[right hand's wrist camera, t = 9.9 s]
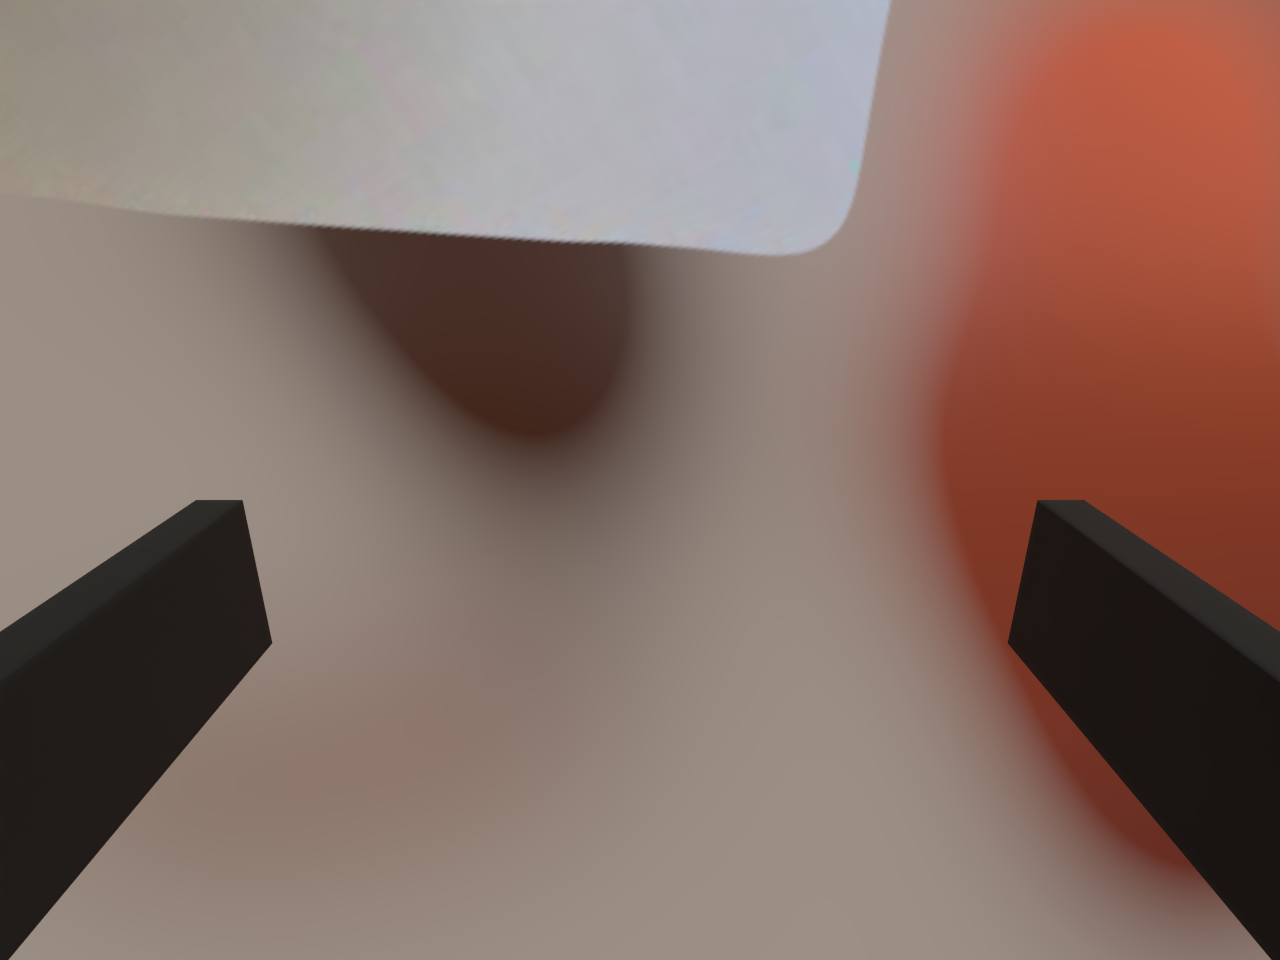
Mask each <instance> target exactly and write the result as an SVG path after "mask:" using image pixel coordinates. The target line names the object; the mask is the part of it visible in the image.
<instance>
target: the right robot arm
mask: <svg viewBox="0 0 1280 960" xmlns="http://www.w3.org/2000/svg"><path fill="white" fill-rule="evenodd" d="M271 644H272V640H271V635H270V630H269V625H268V620H267V616H266V611H265V606H264V601H263V596H262V592H261V587H260V582H259V577H258V572H257V568H256V563H255V558H254V553H253V548H252V544H251V539H250V534H249V529H248V525H247V520H246V515H245V510H244V505H243V501H242V500H196V501H194V502H193V503H191V504H190V505H188V506H187V507H185V508H184V509H182V510H181V511H179V512H178V513H176V514H175V515H173V516H172V517H170V518H169V519H167V520H166V521H164V522H163V523H162V524H160V525H158V526H157V527H155V528H154V529H152V530H151V531H149V532H148V533H147V534H145V535H144V536H142V537H141V538H139V539H138V540H136V541H135V542H133V543H132V544H130V545H129V546H127V547H126V548H124V549H123V550H121V551H120V552H118V553H117V554H115V555H114V556H112V557H111V558H109V559H108V560H106V561H105V562H103V563H102V564H100V565H99V566H97V567H96V568H94V569H93V570H91V571H90V572H88V573H87V574H86V575H84V576H83V577H81V578H80V579H78V580H77V581H75V582H74V583H72V584H71V585H69V586H68V587H66V588H65V589H63V590H62V591H60V592H59V593H57V594H56V595H54V596H53V597H51V598H50V599H48V600H47V601H45V602H44V603H42V604H41V605H39V606H38V607H36V608H35V609H33V610H32V611H31V612H29V613H27V614H26V615H25V616H23V617H22V618H20V619H19V620H17V621H16V622H14V623H13V624H11V625H10V626H8V627H7V628H5V629H4V630H2V631H1V632H0V960H9V958H10V957H11V956H12V955H13V954H14V952H15V951H16V950H17V949H18V948H19V946H20V945H21V944H22V943H23V942H24V940H25V939H26V938H27V937H28V936H29V934H30V933H31V932H32V931H33V930H34V928H35V927H36V926H37V925H38V924H39V922H40V921H41V920H42V919H43V918H44V916H45V915H46V914H47V913H48V912H49V910H50V909H51V908H52V907H53V906H54V904H55V903H56V902H57V901H58V900H59V898H60V897H61V896H62V895H63V894H64V892H65V891H66V890H67V889H68V888H69V886H70V885H71V884H72V883H73V882H74V880H75V879H76V878H77V877H78V876H79V874H80V873H81V872H82V871H83V870H84V868H85V867H86V866H87V865H88V864H89V862H90V861H91V860H92V859H93V858H94V856H95V855H96V854H97V853H98V852H99V850H100V849H101V848H102V847H103V846H104V844H105V843H106V842H107V841H108V840H109V838H110V837H111V836H112V835H113V834H114V832H115V831H116V830H117V829H118V828H119V826H120V825H121V824H122V823H123V822H124V820H125V819H126V818H127V817H128V816H129V814H130V813H131V812H132V811H133V810H134V808H135V807H136V806H137V805H138V804H139V802H140V801H141V800H142V799H143V798H144V796H145V795H146V794H147V793H148V792H149V790H150V789H151V788H152V787H153V786H154V784H155V783H156V782H157V781H158V780H159V778H160V777H161V776H162V775H163V774H164V772H165V771H166V770H167V769H168V768H169V766H170V765H171V764H172V763H173V762H174V760H175V759H176V758H177V757H178V756H179V754H180V753H181V752H182V751H183V750H184V748H185V747H186V746H187V745H188V744H189V742H190V741H191V740H192V739H193V738H194V736H195V735H196V734H197V733H198V731H199V730H200V729H201V728H202V727H203V726H204V724H205V723H206V722H207V721H208V720H209V718H210V717H211V716H212V715H213V714H214V712H215V711H216V710H217V709H218V708H219V706H220V705H221V704H222V703H223V701H224V700H225V699H226V698H227V697H228V696H229V694H230V693H231V692H232V691H233V690H234V688H235V687H236V686H237V685H238V684H239V682H240V681H241V680H242V679H243V678H244V676H245V675H246V674H247V673H248V672H249V670H250V669H251V668H252V667H253V666H254V664H255V663H256V662H257V661H258V660H259V658H260V657H261V656H262V655H263V654H264V652H265V651H266V650H267V649H268V648H269V646H270V645H271ZM1008 644H1009V645H1010V646H1011V648H1012V649H1013V650H1014V651H1015V652H1016V654H1017V655H1018V656H1019V657H1020V658H1021V660H1022V661H1023V662H1024V663H1025V664H1026V666H1027V667H1028V668H1029V669H1030V670H1031V672H1032V673H1033V674H1034V675H1035V676H1036V678H1037V679H1038V680H1039V681H1040V682H1041V684H1042V685H1043V686H1044V687H1045V688H1046V690H1047V691H1048V692H1049V693H1050V694H1051V695H1052V697H1053V698H1054V699H1055V700H1056V702H1057V703H1058V704H1059V705H1060V706H1061V708H1062V709H1063V710H1064V711H1065V712H1066V714H1067V715H1068V716H1069V717H1070V718H1071V720H1072V721H1073V722H1074V723H1075V724H1076V726H1077V727H1078V728H1079V729H1080V730H1081V732H1082V733H1083V734H1084V735H1085V736H1086V738H1087V739H1088V740H1089V741H1090V742H1091V744H1092V745H1093V746H1094V747H1095V748H1096V750H1097V751H1098V752H1099V753H1100V754H1101V756H1102V757H1103V758H1104V759H1105V760H1106V762H1107V763H1108V764H1109V765H1110V766H1111V767H1112V769H1113V770H1114V771H1115V772H1116V774H1117V775H1118V776H1119V777H1120V778H1121V780H1122V781H1123V782H1124V783H1125V784H1126V786H1127V787H1128V788H1129V789H1130V790H1131V792H1132V793H1133V794H1134V795H1135V796H1136V798H1137V799H1138V800H1139V801H1140V802H1141V804H1142V805H1143V806H1144V807H1145V808H1146V810H1147V811H1148V812H1149V813H1150V814H1151V816H1152V817H1153V818H1154V819H1155V820H1156V822H1157V823H1158V824H1159V825H1160V826H1161V828H1162V829H1163V830H1164V831H1165V832H1166V833H1167V835H1168V836H1169V837H1170V838H1171V840H1172V841H1173V842H1174V843H1175V844H1176V846H1177V847H1178V848H1179V849H1180V850H1181V852H1182V853H1183V854H1184V855H1185V856H1186V858H1187V859H1188V860H1189V861H1190V862H1191V864H1192V865H1193V866H1194V867H1195V868H1196V870H1197V871H1198V872H1199V873H1200V874H1201V876H1202V877H1203V878H1204V879H1205V880H1206V882H1207V883H1208V884H1209V885H1210V886H1211V888H1212V889H1213V890H1214V891H1215V892H1216V894H1217V895H1218V896H1219V897H1220V898H1221V900H1222V901H1223V902H1224V903H1225V904H1226V906H1227V907H1228V908H1229V909H1230V910H1231V912H1232V913H1233V914H1234V915H1235V916H1236V918H1237V919H1238V920H1239V921H1240V922H1241V924H1242V925H1243V926H1244V927H1245V928H1246V930H1247V931H1248V932H1249V933H1250V934H1251V936H1252V937H1253V938H1254V939H1255V940H1256V942H1257V943H1258V944H1259V945H1260V946H1261V948H1262V949H1263V950H1264V951H1265V952H1266V954H1267V955H1268V956H1269V957H1270V958H1271V960H1280V632H1279V631H1278V630H1276V629H1275V628H1273V627H1272V626H1270V625H1269V624H1267V623H1266V622H1264V621H1263V620H1261V619H1260V618H1258V617H1257V616H1255V615H1254V614H1253V613H1251V612H1249V611H1248V610H1247V609H1245V608H1244V607H1242V606H1241V605H1239V604H1238V603H1236V602H1235V601H1233V600H1232V599H1230V598H1229V597H1227V596H1226V595H1224V594H1223V593H1221V592H1220V591H1218V590H1217V589H1215V588H1214V587H1212V586H1211V585H1209V584H1208V583H1206V582H1205V581H1203V580H1202V579H1200V578H1199V577H1197V576H1196V575H1194V574H1193V573H1192V572H1190V571H1188V570H1187V569H1186V568H1184V567H1183V566H1181V565H1180V564H1178V563H1177V562H1175V561H1174V560H1172V559H1171V558H1169V557H1168V556H1166V555H1165V554H1163V553H1162V552H1160V551H1159V550H1157V549H1156V548H1154V547H1153V546H1151V545H1150V544H1148V543H1147V542H1145V541H1144V540H1142V539H1141V538H1139V537H1138V536H1136V535H1135V534H1133V533H1132V532H1130V531H1129V530H1128V529H1126V528H1125V527H1123V526H1122V525H1120V524H1119V523H1117V522H1116V521H1114V520H1113V519H1111V518H1110V517H1108V516H1107V515H1105V514H1104V513H1102V512H1101V511H1099V510H1098V509H1096V508H1095V507H1093V506H1092V505H1090V504H1089V503H1087V502H1086V501H1084V500H1038V501H1037V505H1036V510H1035V515H1034V520H1033V524H1032V529H1031V534H1030V539H1029V544H1028V548H1027V553H1026V558H1025V563H1024V568H1023V573H1022V577H1021V582H1020V587H1019V592H1018V596H1017V601H1016V606H1015V611H1014V616H1013V620H1012V625H1011V630H1010V635H1009V640H1008Z"/></svg>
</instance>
